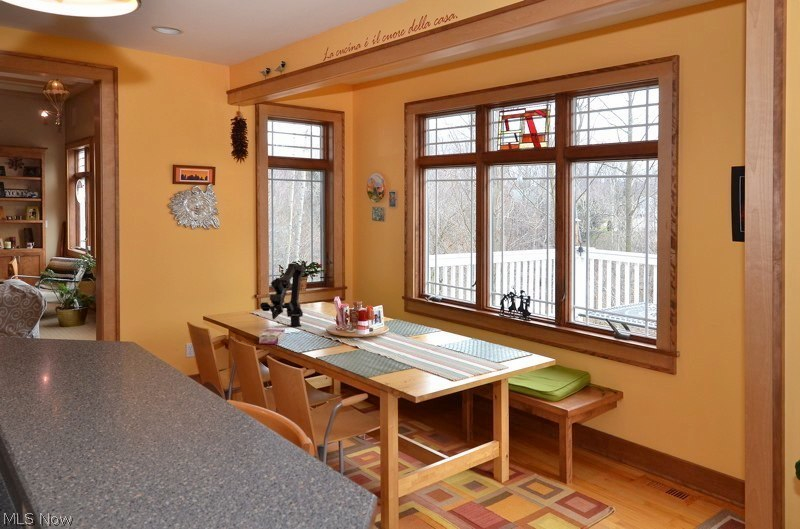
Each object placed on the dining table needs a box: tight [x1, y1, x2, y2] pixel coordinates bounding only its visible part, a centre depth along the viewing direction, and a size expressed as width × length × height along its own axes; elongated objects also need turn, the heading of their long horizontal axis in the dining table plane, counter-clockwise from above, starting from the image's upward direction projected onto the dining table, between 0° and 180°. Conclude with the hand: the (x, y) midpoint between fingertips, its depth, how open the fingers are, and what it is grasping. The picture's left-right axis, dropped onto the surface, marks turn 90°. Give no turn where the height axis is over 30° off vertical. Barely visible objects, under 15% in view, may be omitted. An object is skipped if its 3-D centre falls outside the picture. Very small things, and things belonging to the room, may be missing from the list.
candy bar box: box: [258, 328, 286, 345], centre depth 368 cm, size 11×5×16 cm
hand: (273, 318), depth 372 cm, fingers closed
